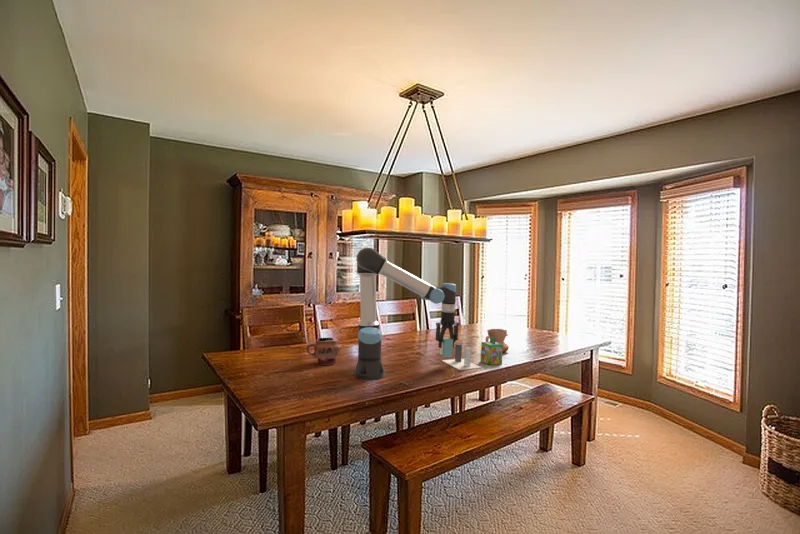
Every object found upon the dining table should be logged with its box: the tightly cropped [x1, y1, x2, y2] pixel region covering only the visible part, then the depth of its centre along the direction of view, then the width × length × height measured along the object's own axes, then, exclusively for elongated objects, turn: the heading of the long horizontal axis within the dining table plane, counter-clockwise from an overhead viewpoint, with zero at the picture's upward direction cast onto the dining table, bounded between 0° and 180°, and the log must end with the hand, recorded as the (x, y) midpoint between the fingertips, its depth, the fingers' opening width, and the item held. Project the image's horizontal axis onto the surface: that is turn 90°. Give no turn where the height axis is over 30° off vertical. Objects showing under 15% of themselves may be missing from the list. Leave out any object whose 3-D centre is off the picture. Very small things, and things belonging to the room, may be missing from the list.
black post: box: [454, 343, 463, 362], centre depth 239 cm, size 3×3×10 cm
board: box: [441, 357, 482, 371], centre depth 234 cm, size 14×20×1 cm
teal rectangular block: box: [439, 336, 454, 358], centre depth 226 cm, size 5×5×10 cm
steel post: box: [463, 346, 472, 367], centre depth 229 cm, size 3×3×10 cm
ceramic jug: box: [485, 328, 509, 354], centre depth 267 cm, size 18×14×14 cm
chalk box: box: [480, 337, 503, 366], centre depth 239 cm, size 9×9×15 cm
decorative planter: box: [305, 337, 343, 366], centre depth 229 cm, size 20×12×14 cm, turn 119°
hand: (445, 353), depth 227 cm, fingers closed on teal rectangular block, 5 cm apart
